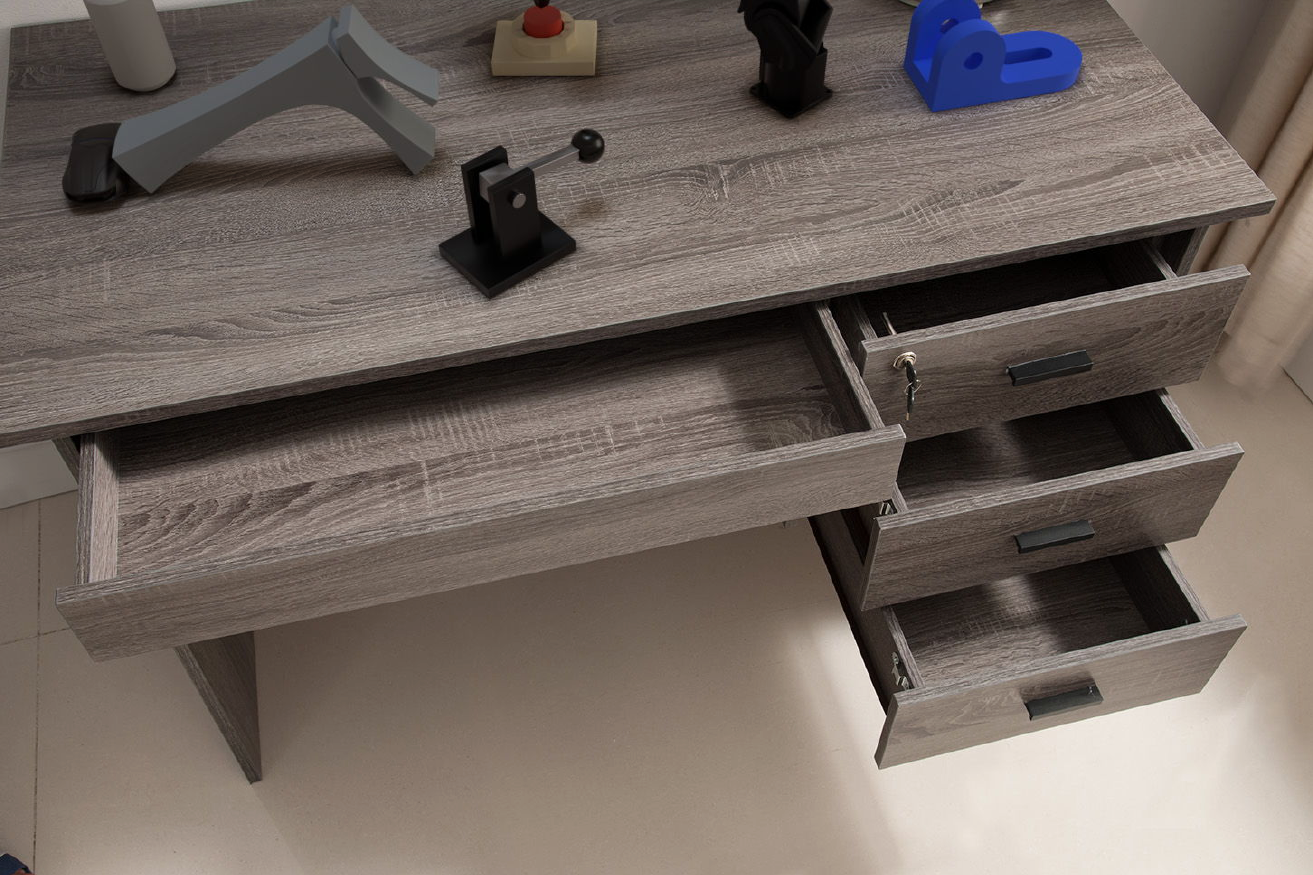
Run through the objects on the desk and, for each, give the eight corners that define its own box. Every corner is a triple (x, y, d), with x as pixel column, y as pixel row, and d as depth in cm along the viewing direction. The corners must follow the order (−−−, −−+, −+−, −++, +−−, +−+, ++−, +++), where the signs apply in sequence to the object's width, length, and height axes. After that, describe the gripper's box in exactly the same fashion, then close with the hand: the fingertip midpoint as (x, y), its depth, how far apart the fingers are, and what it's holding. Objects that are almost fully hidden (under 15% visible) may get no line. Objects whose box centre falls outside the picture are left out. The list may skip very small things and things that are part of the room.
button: (563, 19, 134) (562, 4, 132) (561, 40, 131) (560, 25, 130) (526, 19, 134) (525, 4, 132) (523, 40, 131) (522, 25, 130)
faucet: (230, 268, 128) (474, 153, 119) (109, 157, 116) (371, 19, 107) (238, 229, 132) (475, 114, 123) (121, 117, 120) (375, -19, 111)
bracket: (932, 112, 128) (947, 36, 121) (903, 66, 133) (916, -9, 126) (1090, 86, 131) (1114, 10, 124) (1056, 42, 136) (1077, -33, 129)
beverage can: (124, 101, 130) (82, -1, 121) (111, 70, 134) (69, -32, 124) (184, 84, 132) (147, -18, 123) (170, 54, 135) (133, -48, 126)
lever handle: (590, 147, 116) (590, 117, 114) (611, 163, 115) (612, 133, 112) (476, 196, 110) (474, 166, 108) (497, 214, 108) (496, 184, 106)
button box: (597, 33, 137) (595, 5, 135) (594, 76, 132) (592, 47, 130) (499, 34, 137) (495, 5, 135) (492, 76, 132) (488, 47, 130)
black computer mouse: (141, 134, 127) (128, 103, 124) (127, 211, 119) (113, 179, 116) (83, 140, 126) (69, 109, 123) (66, 217, 119) (50, 186, 116)
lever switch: (525, 207, 119) (515, 124, 111) (576, 250, 115) (570, 166, 107) (439, 254, 115) (423, 170, 107) (489, 299, 111) (476, 216, 103)
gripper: (404, -148, 119) (429, -3, 132) (519, -74, 110) (534, 75, 123) (497, -183, 124) (513, -39, 136) (615, -115, 115) (620, 33, 127)
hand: (541, 6), depth 130 cm, fingers closed
